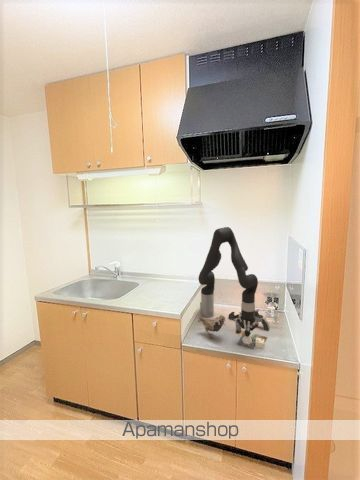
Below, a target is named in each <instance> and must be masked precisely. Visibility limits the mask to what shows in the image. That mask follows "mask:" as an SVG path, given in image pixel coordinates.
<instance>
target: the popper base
mask: <svg viewBox="0 0 360 480" xmlns="http://www.w3.org/2000/svg"><path fill="white" fill-rule="evenodd" d="M243 337H245V336H242V335H241V337H240V338H239V340H238V341H237V343H236V345H238V346H240V347H244V348H247V349H250V350H253V349H254V347H255V342H256V339H253V338H251V339H252V344H251V345H248V344H244V343H243Z"/></svg>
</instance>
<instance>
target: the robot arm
mask: <svg viewBox="0 0 360 480" xmlns="http://www.w3.org/2000/svg"><path fill="white" fill-rule="evenodd" d="M211 240H212V241H211V243H210V247H209V250H208V253H207V255H206V258H205V262H204V264H203V267H202V268H201V270H200V272H199V273H198V274H199V275H198V282H199V284H200V285H201V286H203V287H202V288H201V290H200V297H201V298H200V302H199V307H200V309H199V315H201V316H202V317H204V318H210V317H214V316H215V315H214V312H215V308H214V307H215V306H214V305H215V304H214V302H215V301H214V299H215V297H214V295H215V293H214V291H215V285H216V284H215V283H216V280H215V279H216V277H215V274H214V272H213V270H215V269H216V268H217V267H218V266H219V264H220V262H221V259H222V253H221V251H220V248H221V246H222V244H224V243H228V245H229V247H230V261H231V263H232V265H233V267H234V269H235V271H236V274H237V280H238V283H239V285H240V286H241V287H242V288H243V289H244V290H243V291H242V292H241V305H240V306H241V307H240V309H241V311H240V312H241V317H240V318H236V320H237V322H238V323H239V325H240V326H241V330H243V331H245V335H246V336H247V337H248V336H249V335H250V333H251V332H252V331H254V330H255V329H256V328H257V327H259V324H260V322H258V323H257V322H256V321H255V310H256V302H255V298H256V297H255V295H256V293H257V289H258V284H259V281H258V278H257V276H256V274H254V273H249V274H247V271H248V270H249V266H248V265H247V262H246V260H245V259H244V256H243V255H242V253H241V250H240V248H239V245H238V242H237V239H236V236H235V234H234V232H233V230H232V229H231V227H229V226H225V227H224V226H223V227H220V228H216V229H215V231H214V232H213V234H212V239H211ZM252 324H253V325H254V326H252Z"/></svg>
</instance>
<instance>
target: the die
mask: <svg viewBox="0 0 360 480" xmlns="http://www.w3.org/2000/svg"><path fill="white" fill-rule="evenodd" d="M254 347H255V348H258V349H262V350H264V348H265V342H264V339H261V338H256V342H255V346H254Z"/></svg>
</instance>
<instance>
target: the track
mask: <svg viewBox="0 0 360 480" xmlns="http://www.w3.org/2000/svg"><path fill="white" fill-rule="evenodd" d="M232 333H233V334H235V335H239V336H241V337H242V336H246V335H245V330H244V329H241V333H236V329H235V330H234V331H233V332H232ZM249 337H250V338H253V339H256V338H261V339H264V343H266V342H267V340H268V338H269V337H268V336H264V335H260V334H257V333H254V332H250V335H249Z"/></svg>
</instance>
